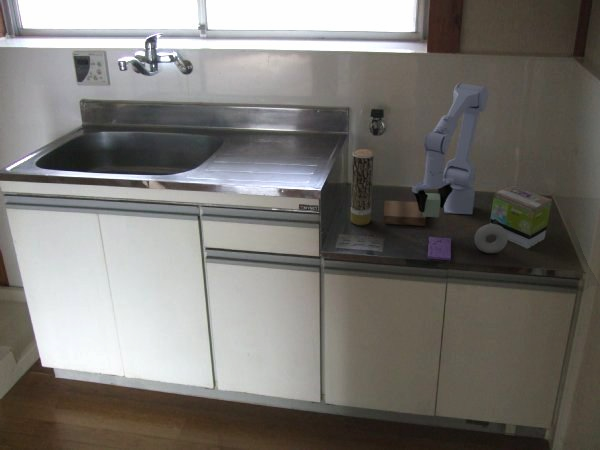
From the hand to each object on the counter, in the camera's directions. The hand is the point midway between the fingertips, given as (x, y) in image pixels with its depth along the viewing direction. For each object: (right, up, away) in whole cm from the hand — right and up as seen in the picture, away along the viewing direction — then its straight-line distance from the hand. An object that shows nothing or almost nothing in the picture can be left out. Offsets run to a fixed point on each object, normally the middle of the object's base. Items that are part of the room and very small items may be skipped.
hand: (431, 208), depth 207 cm
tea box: (+28, -9, +1) cm, 29 cm away
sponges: (+1, -14, -6) cm, 15 cm away
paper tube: (-22, -4, +12) cm, 25 cm away
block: (0, -1, +1) cm, 2 cm away
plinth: (-6, -2, +15) cm, 16 cm away
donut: (+16, -14, -8) cm, 23 cm away
